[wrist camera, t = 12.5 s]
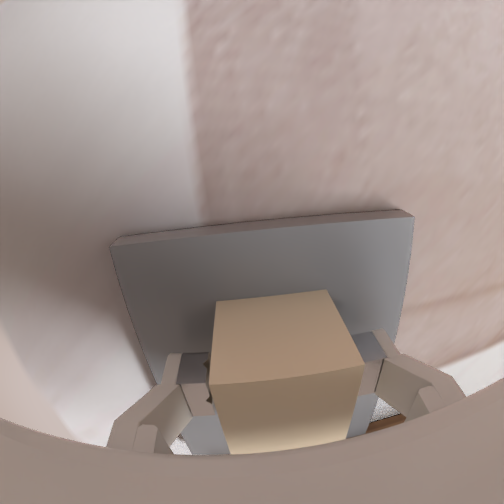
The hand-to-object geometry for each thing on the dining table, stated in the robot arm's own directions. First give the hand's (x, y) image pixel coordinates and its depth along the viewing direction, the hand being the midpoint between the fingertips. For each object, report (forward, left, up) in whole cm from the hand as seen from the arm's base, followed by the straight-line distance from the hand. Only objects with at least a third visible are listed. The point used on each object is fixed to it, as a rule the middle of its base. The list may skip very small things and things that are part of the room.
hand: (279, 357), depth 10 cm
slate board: (+3, 0, -2) cm, 3 cm away
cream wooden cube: (0, 0, -1) cm, 1 cm away
